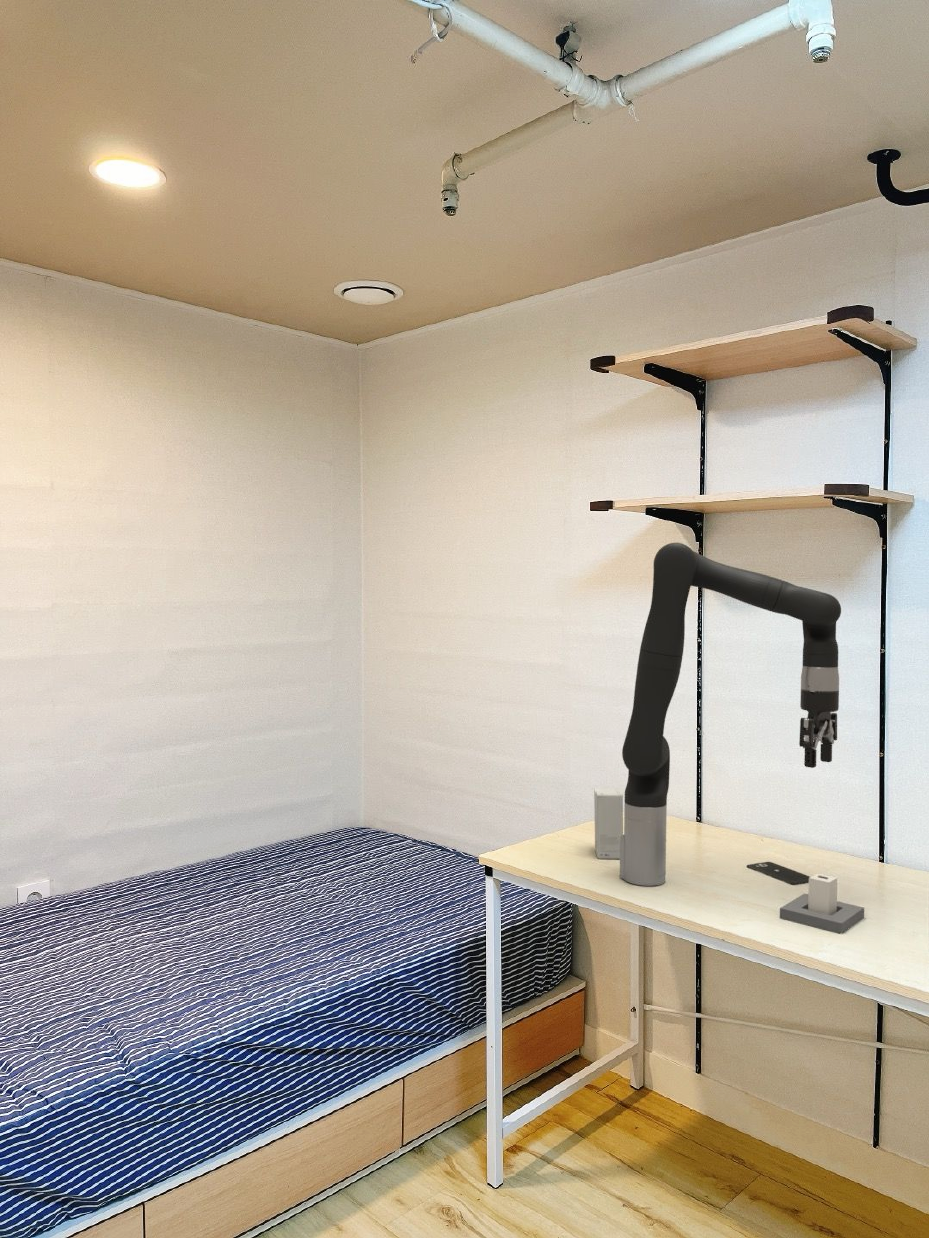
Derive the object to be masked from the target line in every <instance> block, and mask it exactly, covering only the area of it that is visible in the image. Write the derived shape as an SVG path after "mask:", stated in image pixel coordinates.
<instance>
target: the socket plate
mask: <svg viewBox="0 0 929 1238" xmlns="http://www.w3.org/2000/svg"><path fill="white" fill-rule="evenodd" d="M808 896H809V893H808V894H807V893H803V894H801V895H799V896H798V897H796V898H795V899H793V900H791V901H789V902H788V903H786V904H784V905H783V906H781V907H779V919H782V920H786V921H789V922H794V923H797V924H801V925H806V926H809V927H813V928H816V927H817V928H818V929H821V930H824V931H828V932H832V933H836V932H838V933H837V934H840V933H842V934H844V933H845V932H846V931H848V930H849V929H850V928H852V927H853V926H854V925H856V924H857V923H859V922H860V921H861V920H863V919H864V918H865V907H863V906H859V905H855V904H850V903H845V902H842V901H838V900H837V912H836V913H835V914H833V915H828V914H824V913H820V912H816V911H812V910H808ZM851 926H852V927H851ZM848 928H849V929H848Z"/></svg>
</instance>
